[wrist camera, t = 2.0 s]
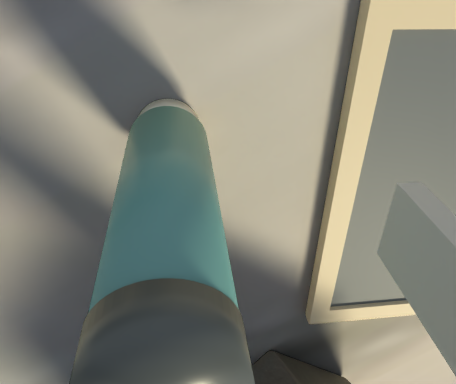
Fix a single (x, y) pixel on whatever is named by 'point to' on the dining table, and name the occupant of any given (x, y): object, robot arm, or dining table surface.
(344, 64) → the dining table surface
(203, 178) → the teal marker
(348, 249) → the slate board
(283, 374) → the planter
